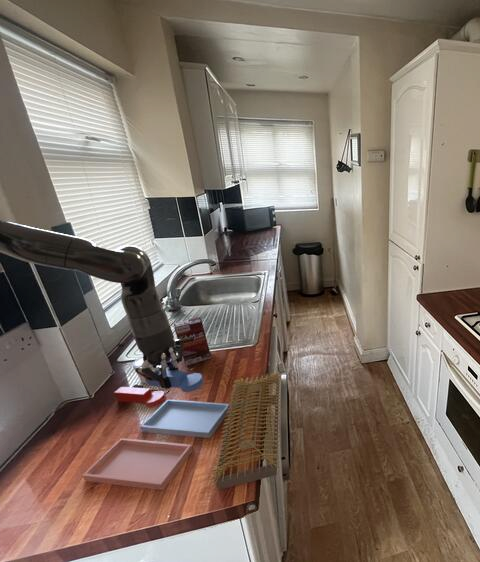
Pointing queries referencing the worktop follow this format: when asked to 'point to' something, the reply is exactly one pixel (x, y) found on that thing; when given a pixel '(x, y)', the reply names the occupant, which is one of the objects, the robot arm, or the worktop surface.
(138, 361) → the white short cylinder
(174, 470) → the rose tray
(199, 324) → the supplement box
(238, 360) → the worktop surface
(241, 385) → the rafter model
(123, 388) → the red spoon
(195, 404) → the blue tray
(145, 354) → the robot arm
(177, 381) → the blue spoon
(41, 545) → the worktop surface
